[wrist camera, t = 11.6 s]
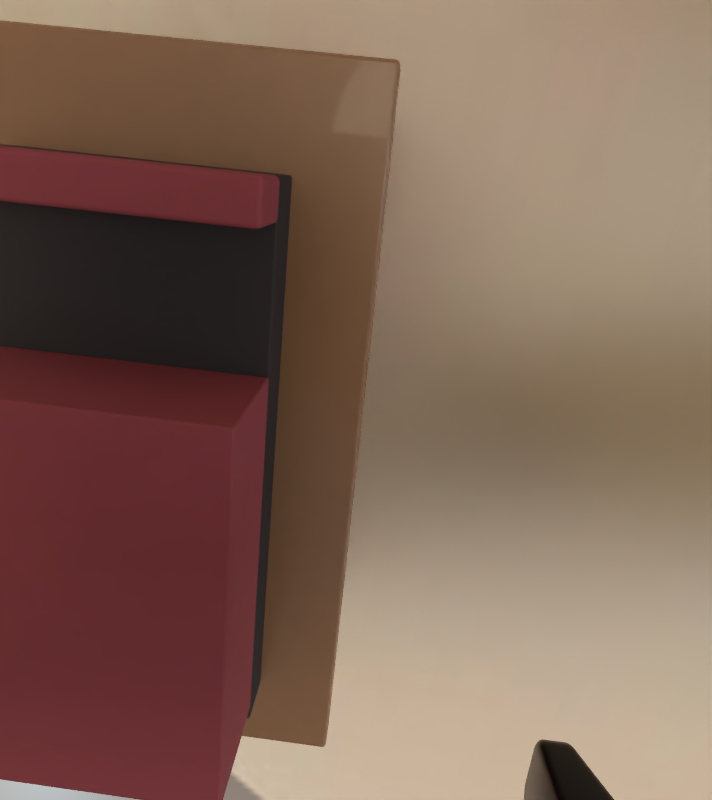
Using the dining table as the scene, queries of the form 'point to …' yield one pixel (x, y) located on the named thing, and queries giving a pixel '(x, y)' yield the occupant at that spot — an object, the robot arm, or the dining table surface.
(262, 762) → the dining table surface
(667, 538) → the dining table surface
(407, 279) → the dining table surface
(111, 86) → the shoebox
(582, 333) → the dining table surface
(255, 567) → the dark red two-tone block
